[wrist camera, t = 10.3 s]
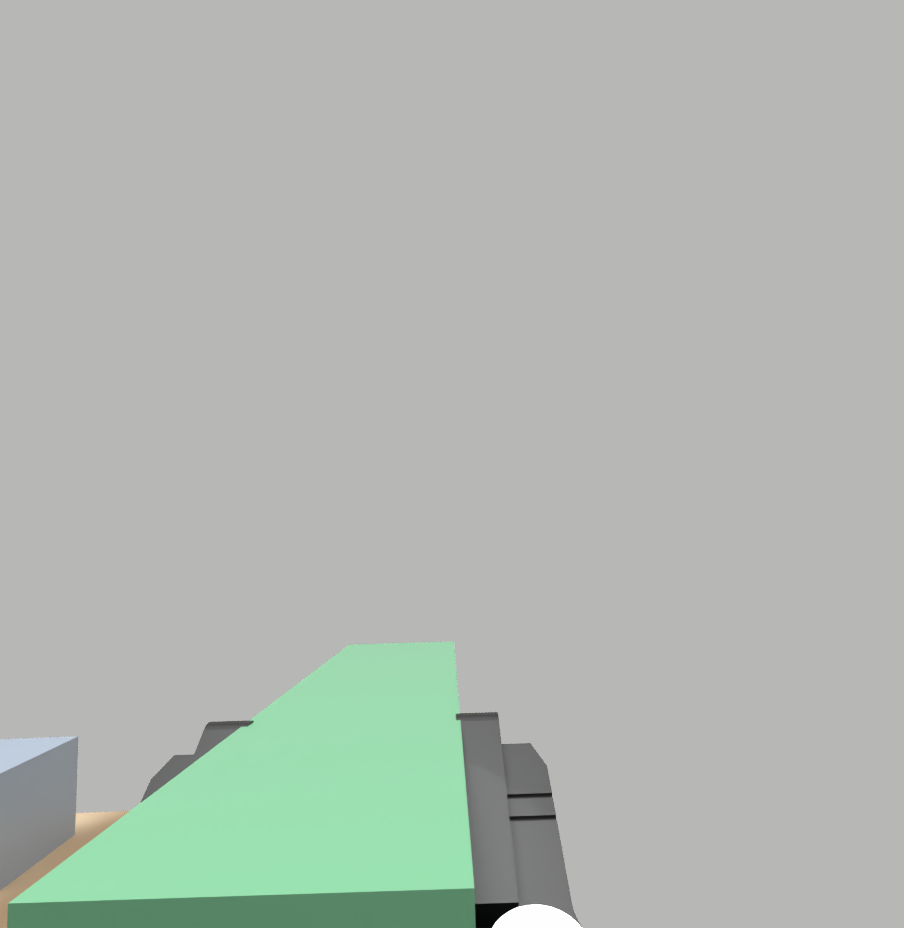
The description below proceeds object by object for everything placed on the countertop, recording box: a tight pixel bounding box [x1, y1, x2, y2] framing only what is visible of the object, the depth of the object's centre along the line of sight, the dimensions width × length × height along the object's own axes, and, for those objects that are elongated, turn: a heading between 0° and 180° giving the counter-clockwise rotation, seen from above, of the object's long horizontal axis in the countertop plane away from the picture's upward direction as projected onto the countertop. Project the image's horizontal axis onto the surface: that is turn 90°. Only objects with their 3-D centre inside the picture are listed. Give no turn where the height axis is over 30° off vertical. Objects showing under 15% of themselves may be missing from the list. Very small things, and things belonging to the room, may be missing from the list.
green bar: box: [7, 642, 476, 928], centre depth 15 cm, size 4×20×4 cm, turn 0°
